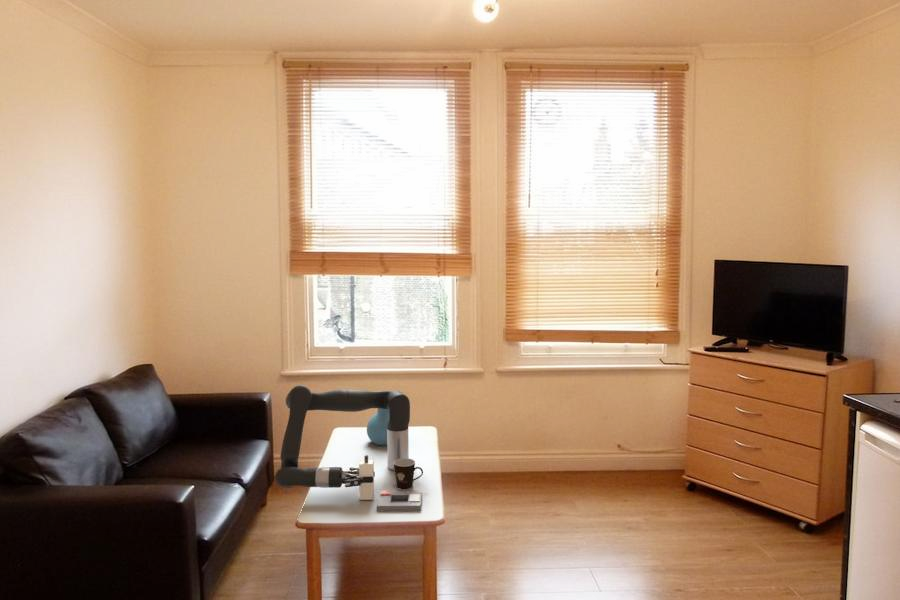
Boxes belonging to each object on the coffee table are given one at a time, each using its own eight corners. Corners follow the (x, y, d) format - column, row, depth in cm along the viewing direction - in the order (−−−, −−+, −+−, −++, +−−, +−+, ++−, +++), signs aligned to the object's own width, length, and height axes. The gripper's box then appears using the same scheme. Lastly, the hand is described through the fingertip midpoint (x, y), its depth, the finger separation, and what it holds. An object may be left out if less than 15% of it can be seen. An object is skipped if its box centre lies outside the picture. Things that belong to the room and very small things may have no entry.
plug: (361, 494, 237) (360, 453, 236) (374, 494, 237) (373, 453, 236) (359, 499, 233) (358, 458, 231) (372, 499, 233) (372, 458, 231)
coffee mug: (389, 486, 246) (389, 462, 245) (405, 480, 252) (405, 456, 251) (408, 494, 238) (408, 470, 237) (424, 488, 244) (424, 464, 243)
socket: (379, 497, 236) (379, 490, 236) (421, 496, 236) (421, 490, 236) (376, 511, 224) (376, 504, 224) (420, 510, 225) (420, 503, 224)
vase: (376, 450, 287) (375, 398, 285) (361, 440, 301) (360, 390, 298) (407, 443, 296) (406, 393, 294) (391, 434, 310) (390, 386, 307)
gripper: (325, 475, 226) (371, 474, 227) (332, 460, 241) (375, 460, 241) (326, 494, 227) (372, 494, 228) (332, 479, 242) (376, 478, 242)
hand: (373, 476), depth 234 cm, fingers closed on plug, 4 cm apart
